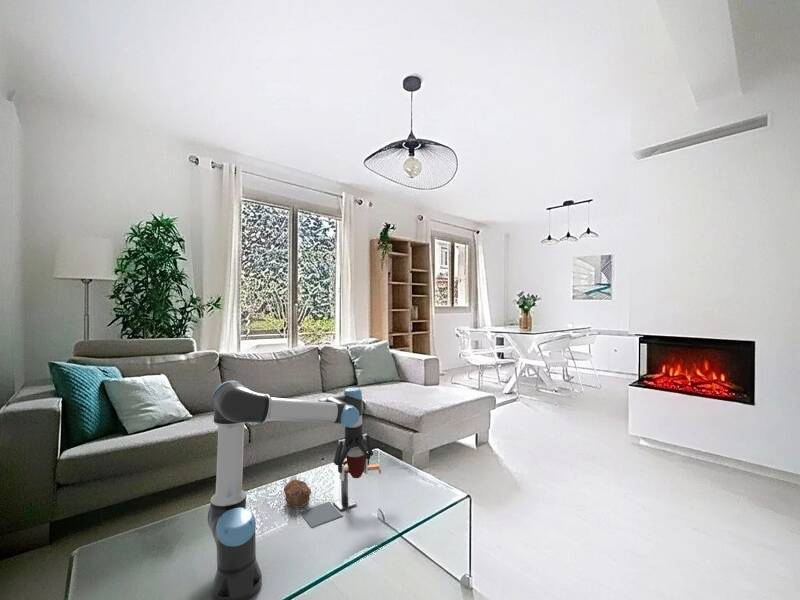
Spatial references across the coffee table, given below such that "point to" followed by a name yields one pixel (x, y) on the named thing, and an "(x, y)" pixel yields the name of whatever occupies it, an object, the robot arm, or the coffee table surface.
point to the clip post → (344, 496)
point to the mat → (320, 514)
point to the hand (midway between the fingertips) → (353, 476)
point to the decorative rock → (297, 493)
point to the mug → (355, 463)
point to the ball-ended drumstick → (370, 467)
